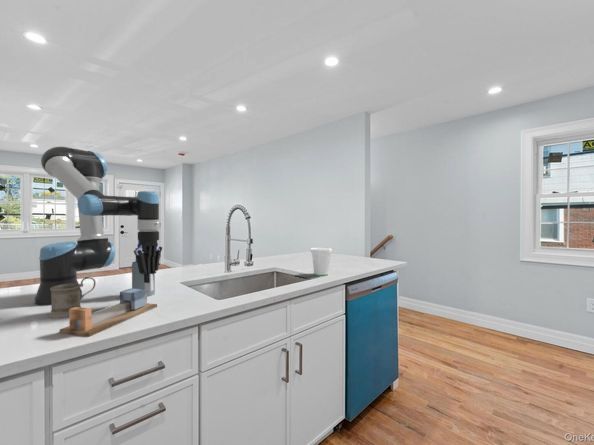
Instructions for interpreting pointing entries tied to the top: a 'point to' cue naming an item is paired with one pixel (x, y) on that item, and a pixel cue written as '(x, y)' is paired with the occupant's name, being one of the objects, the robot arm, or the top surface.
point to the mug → (66, 298)
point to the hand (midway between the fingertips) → (149, 290)
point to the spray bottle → (140, 278)
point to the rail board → (109, 322)
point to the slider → (133, 297)
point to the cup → (321, 260)
